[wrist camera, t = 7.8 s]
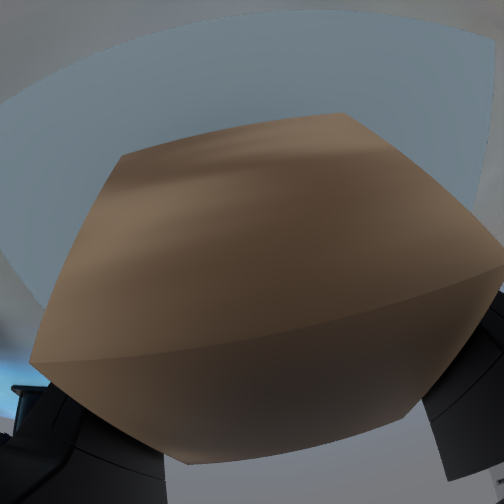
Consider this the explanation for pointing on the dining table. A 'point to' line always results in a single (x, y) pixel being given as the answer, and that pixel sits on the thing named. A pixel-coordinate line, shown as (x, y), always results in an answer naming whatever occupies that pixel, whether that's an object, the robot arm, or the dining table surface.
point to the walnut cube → (265, 290)
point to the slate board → (234, 109)
